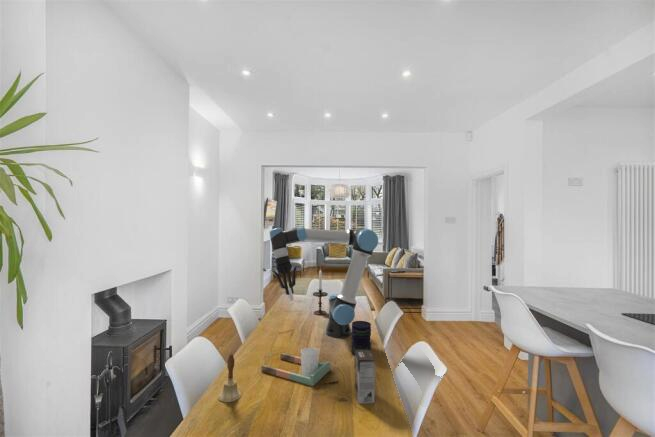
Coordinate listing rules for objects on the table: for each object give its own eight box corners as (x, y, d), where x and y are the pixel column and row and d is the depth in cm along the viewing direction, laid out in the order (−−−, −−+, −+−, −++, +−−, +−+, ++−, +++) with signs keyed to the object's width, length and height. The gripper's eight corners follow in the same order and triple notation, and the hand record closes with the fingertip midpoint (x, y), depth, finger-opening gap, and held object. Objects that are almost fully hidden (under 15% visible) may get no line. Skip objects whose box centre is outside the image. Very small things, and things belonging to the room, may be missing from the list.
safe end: (289, 379, 131) (289, 370, 131) (308, 364, 145) (308, 356, 145) (312, 386, 126) (312, 376, 126) (329, 370, 140) (329, 361, 140)
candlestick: (325, 316, 219) (326, 266, 220) (310, 315, 222) (311, 265, 222) (328, 311, 230) (329, 264, 230) (314, 310, 232) (315, 263, 233)
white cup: (304, 379, 131) (304, 356, 131) (298, 371, 138) (298, 349, 138) (321, 376, 134) (321, 353, 134) (314, 368, 141) (314, 346, 141)
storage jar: (359, 347, 165) (360, 319, 165) (374, 353, 158) (375, 323, 158) (347, 353, 158) (347, 323, 158) (362, 359, 151) (362, 328, 151)
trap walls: (276, 375, 134) (276, 369, 134) (295, 361, 148) (295, 356, 148) (289, 379, 131) (289, 373, 131) (308, 364, 145) (308, 359, 145)
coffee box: (353, 390, 123) (354, 349, 123) (369, 390, 123) (370, 349, 124) (358, 404, 114) (358, 359, 114) (375, 403, 114) (375, 359, 115)
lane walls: (261, 371, 138) (261, 365, 138) (281, 358, 152) (281, 352, 152) (276, 375, 134) (276, 369, 134) (295, 361, 148) (295, 356, 148)
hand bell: (242, 389, 123) (242, 349, 123) (240, 401, 115) (240, 358, 115) (220, 391, 121) (220, 350, 122) (216, 403, 113) (217, 359, 113)
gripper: (291, 255, 174) (300, 297, 171) (268, 260, 169) (278, 303, 165) (295, 253, 168) (305, 297, 164) (271, 258, 162) (281, 303, 158)
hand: (291, 300), depth 165 cm, fingers closed
